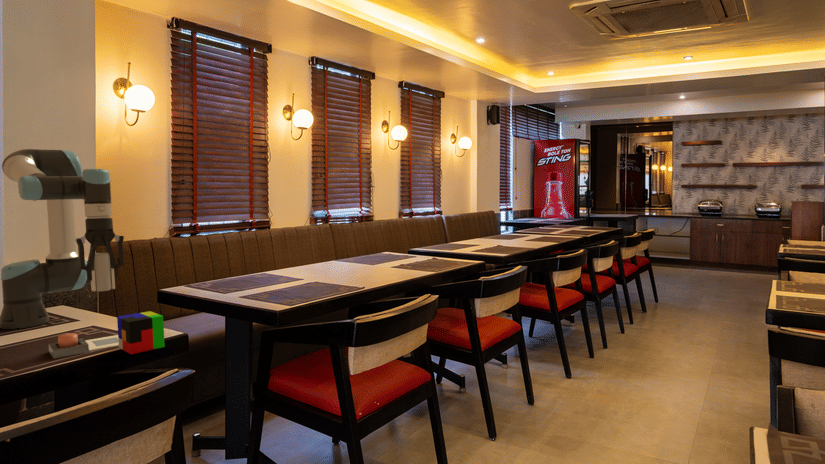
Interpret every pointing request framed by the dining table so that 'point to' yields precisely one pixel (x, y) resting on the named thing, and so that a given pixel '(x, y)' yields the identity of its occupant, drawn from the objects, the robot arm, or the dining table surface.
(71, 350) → the button collar
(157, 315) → the puzzle toy
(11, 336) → the dining table surface
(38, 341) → the dining table surface
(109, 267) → the beverage can
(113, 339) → the white flat block
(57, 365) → the dining table surface
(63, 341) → the button
